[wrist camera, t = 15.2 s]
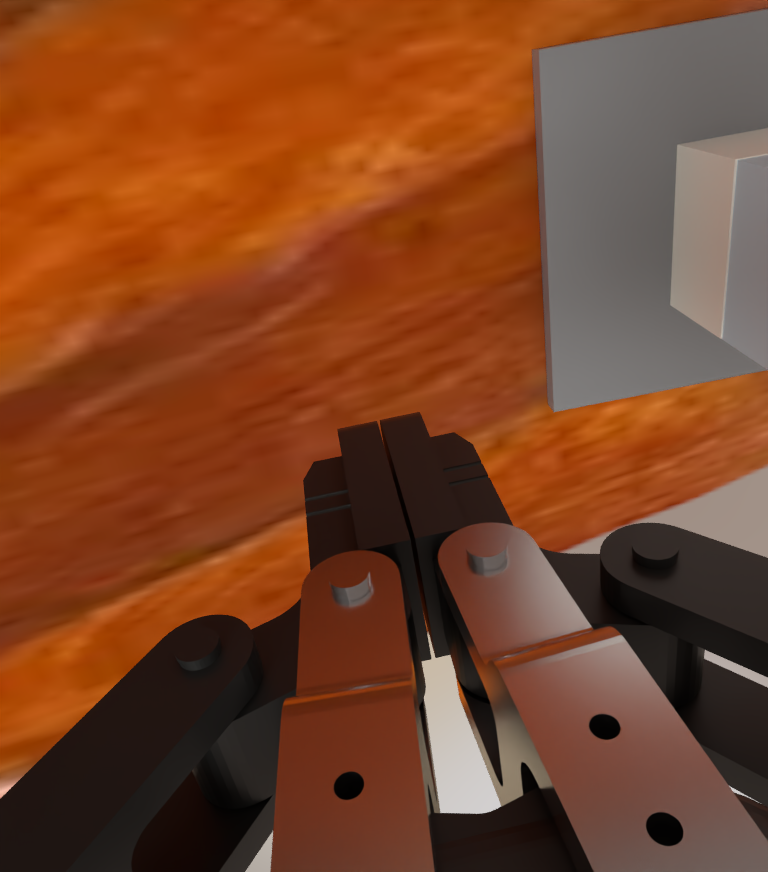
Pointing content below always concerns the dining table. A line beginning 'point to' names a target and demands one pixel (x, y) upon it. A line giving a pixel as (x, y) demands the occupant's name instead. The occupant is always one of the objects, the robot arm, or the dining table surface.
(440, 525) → the robot arm
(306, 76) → the dining table surface
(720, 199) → the cream base brick
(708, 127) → the charcoal baseplate
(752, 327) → the pale blue brick
